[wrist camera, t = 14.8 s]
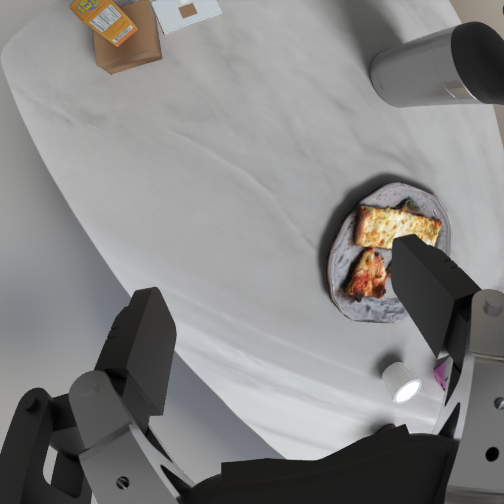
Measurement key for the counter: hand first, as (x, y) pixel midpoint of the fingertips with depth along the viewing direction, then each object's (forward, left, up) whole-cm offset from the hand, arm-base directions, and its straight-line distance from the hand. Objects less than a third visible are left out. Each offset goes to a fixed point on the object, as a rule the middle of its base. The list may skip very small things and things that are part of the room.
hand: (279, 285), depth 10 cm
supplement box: (+8, -21, -25) cm, 33 cm away
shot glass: (-26, +45, -30) cm, 60 cm away
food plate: (-24, +17, -31) cm, 42 cm away
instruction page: (0, -25, -30) cm, 39 cm away
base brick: (+8, -21, -30) cm, 38 cm away
